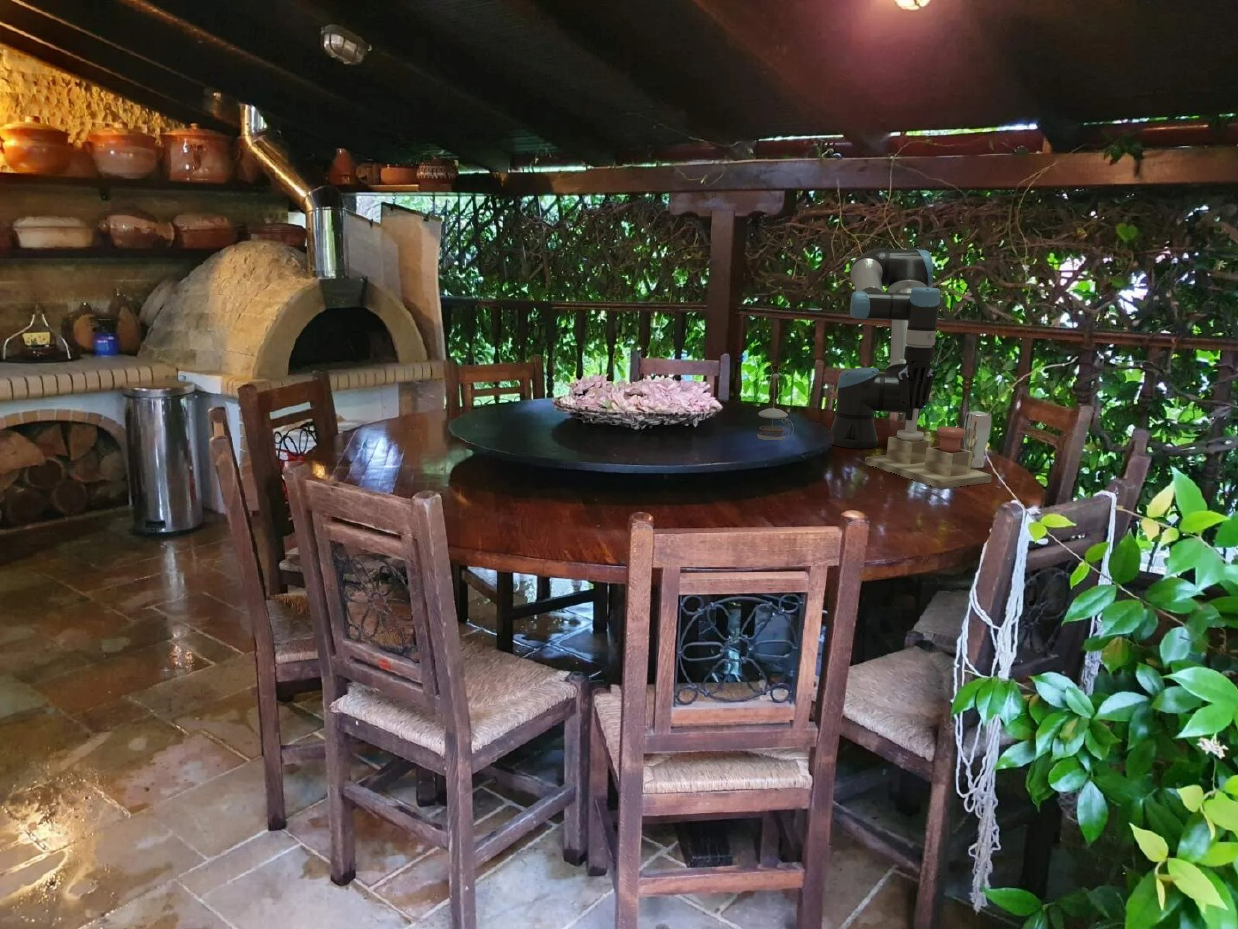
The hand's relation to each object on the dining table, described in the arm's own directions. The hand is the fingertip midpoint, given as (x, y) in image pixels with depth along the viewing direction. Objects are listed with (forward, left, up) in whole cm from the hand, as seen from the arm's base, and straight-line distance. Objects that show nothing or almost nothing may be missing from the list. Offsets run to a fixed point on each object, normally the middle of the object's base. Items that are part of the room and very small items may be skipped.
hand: (910, 431), depth 243 cm
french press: (-19, -32, -10) cm, 39 cm away
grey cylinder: (0, 0, -7) cm, 7 cm away
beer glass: (+6, +19, -10) cm, 22 cm away
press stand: (+7, 0, -10) cm, 12 cm away
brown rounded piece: (+14, 0, -4) cm, 14 cm away
